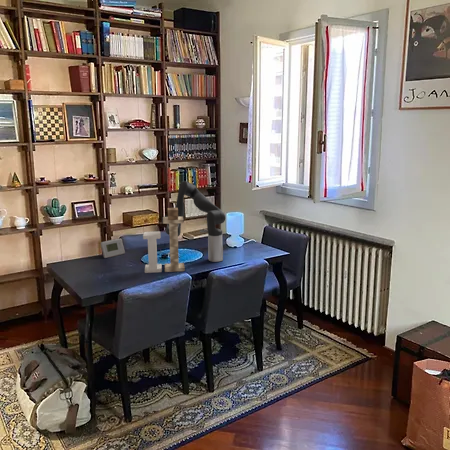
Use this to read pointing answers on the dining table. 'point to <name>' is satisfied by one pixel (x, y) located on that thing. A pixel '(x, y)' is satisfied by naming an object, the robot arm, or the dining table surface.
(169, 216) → the teal and brown block
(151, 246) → the white column stand
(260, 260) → the dining table surface
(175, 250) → the marbled pedestal stand
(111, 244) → the digital clock
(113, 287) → the dining table surface
